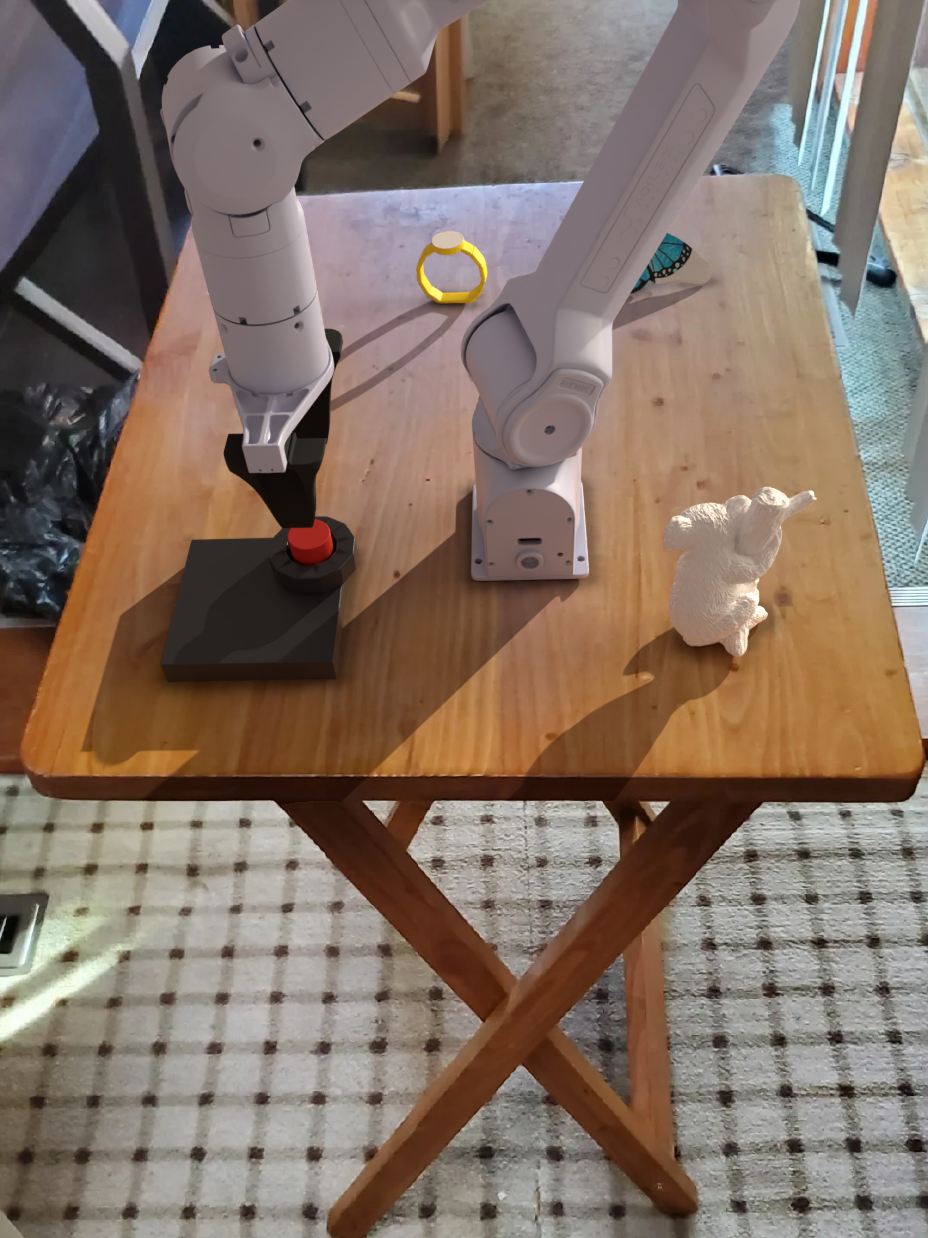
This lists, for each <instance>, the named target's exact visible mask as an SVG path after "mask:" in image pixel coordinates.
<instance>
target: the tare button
mask: <svg viewBox="0 0 928 1238" xmlns="http://www.w3.org/2000/svg"><path fill="white" fill-rule="evenodd" d="M288 541H289V545H290V549H291V553H292V556H293V558H294V559H295V560H296V561H297V562H298V563H300V564H303V565H316V564H319V563H321V562H324V561H325V560H327V559H328V558H329V557H330V556H331V554H332V552H333V543H332V538H331V533H330V529H329V527H328V526H327V524H325V523H324V522H322V521H320V520H316V519H315V520H314V525H313V527H311V528H291V529H290V530H289V533H288Z"/></svg>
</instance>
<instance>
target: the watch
mask: <svg viewBox="0 0 928 1238" xmlns="http://www.w3.org/2000/svg"><path fill="white" fill-rule="evenodd" d="M433 253H435V254H437V255H440V256H452V255H455V254H458V253H462V254H464V255H467V256H468V257H470V259H471V260H472V261H473V262H474V263H475V265H476V266H477V267H478V270H479V275H480V281H479V284H477V285H476V286H475V287H474V288H473V289H472V290H470V291H464V292H463V291H458V292H442V291H441V290H439V289H438V288H436V287H435V286H433V285H432V284H431V282H430V281H429V279H428V277H427V276H426V274H425V270H424V262H425V260H426V258H428V257H429V256H431V255H432V254H433ZM415 272H416V281H417V285H418V286H419V287H420V289H421V290H422V292H423V294H424V295H425V296H426V297H427V298H429V299H430V300H432V301H434V302H435V303H437V304H438V305H440V304H471V303H473V302H474V301H475V300H476V299H477V298H479V297H480V296H481V295H482V293H483V291H484V288H485V284H486V283H487V282H486V281H487V277H488V268H487V262H486V258H485V257H484V255H483V254H482V253H481V251H480V250H479V248H477V246H475V245H474V244H472V243H470V242H468V241H467V240H465V237H464V235H463V234H462V233H460V232H458V231H455V230H445V231H441V232H439V233H437V234H435V235H434V236H433V237H432V239H431V242H430V243H429V244H427V245H426V246H425V247H424V248H423V249H422V252H421V254H420V256H419V258H418V261H417V265H416V268H415Z"/></svg>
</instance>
